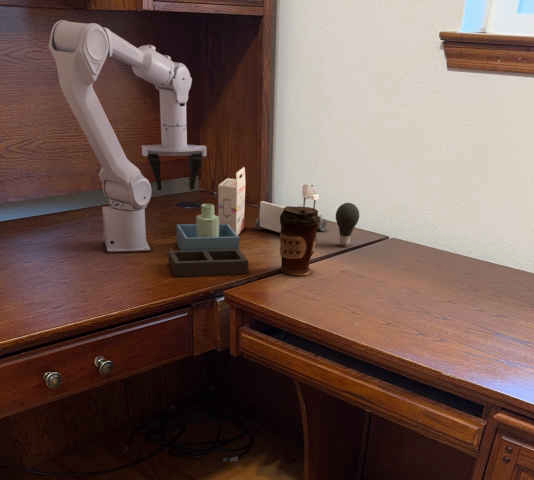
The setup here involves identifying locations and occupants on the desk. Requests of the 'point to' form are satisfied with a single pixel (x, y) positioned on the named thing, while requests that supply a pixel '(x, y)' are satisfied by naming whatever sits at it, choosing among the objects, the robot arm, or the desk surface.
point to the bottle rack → (207, 262)
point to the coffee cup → (297, 238)
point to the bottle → (207, 222)
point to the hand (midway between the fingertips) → (175, 189)
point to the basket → (206, 238)
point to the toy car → (272, 211)
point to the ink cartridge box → (232, 201)
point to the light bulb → (346, 221)
